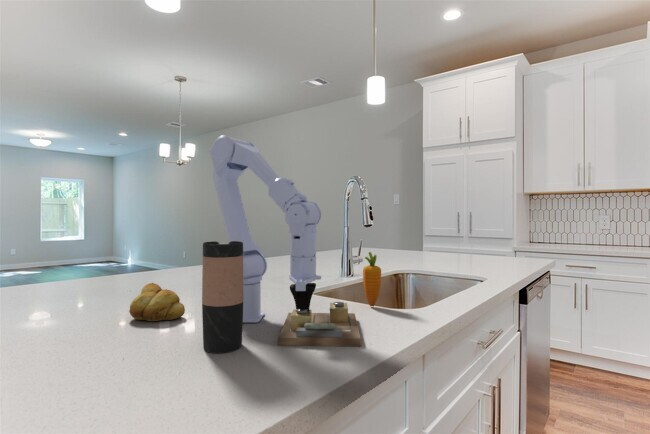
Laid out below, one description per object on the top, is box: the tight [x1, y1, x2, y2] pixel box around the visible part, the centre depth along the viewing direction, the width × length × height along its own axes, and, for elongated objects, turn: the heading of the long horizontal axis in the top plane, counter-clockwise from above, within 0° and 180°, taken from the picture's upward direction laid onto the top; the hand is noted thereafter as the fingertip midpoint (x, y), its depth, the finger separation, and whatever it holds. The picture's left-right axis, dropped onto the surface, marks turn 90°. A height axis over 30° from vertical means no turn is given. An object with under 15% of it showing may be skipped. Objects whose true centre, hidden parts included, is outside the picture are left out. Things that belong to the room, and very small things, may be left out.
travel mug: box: [201, 240, 244, 354], centre depth 71 cm, size 8×8×20 cm
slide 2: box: [329, 301, 349, 322], centre depth 85 cm, size 4×5×4 cm
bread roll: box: [129, 282, 186, 322], centre depth 90 cm, size 13×10×8 cm
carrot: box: [362, 251, 382, 307], centre depth 102 cm, size 5×5×15 cm
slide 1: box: [291, 308, 313, 330], centre depth 79 cm, size 4×5×4 cm
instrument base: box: [277, 312, 362, 347], centre depth 81 cm, size 16×18×4 cm
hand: (302, 316), depth 83 cm, fingers closed
